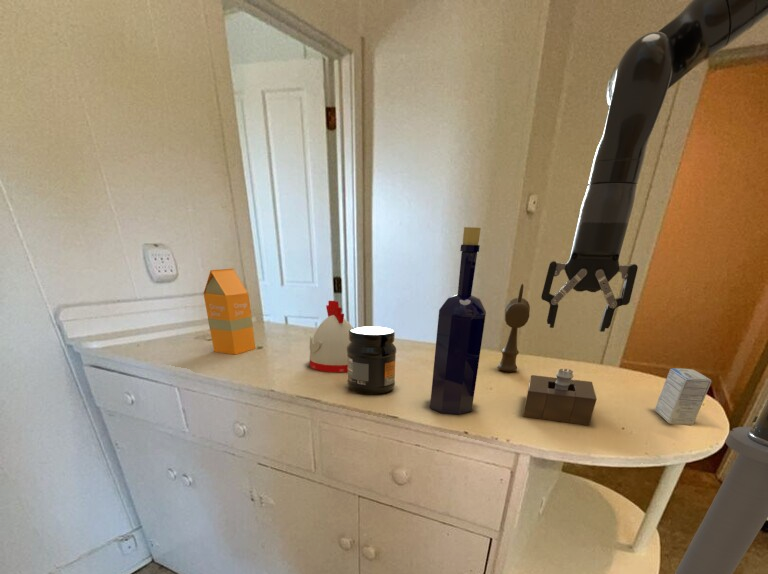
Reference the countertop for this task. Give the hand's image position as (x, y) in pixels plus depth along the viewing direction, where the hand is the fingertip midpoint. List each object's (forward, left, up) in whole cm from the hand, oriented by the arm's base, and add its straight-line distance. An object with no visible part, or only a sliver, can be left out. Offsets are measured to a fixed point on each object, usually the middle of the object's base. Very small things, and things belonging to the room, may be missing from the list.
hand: (576, 329), depth 77 cm
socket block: (0, 0, -15) cm, 15 cm away
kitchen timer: (+54, -14, -16) cm, 58 cm away
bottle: (+20, +6, -16) cm, 26 cm away
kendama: (+12, -28, -16) cm, 34 cm away
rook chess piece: (0, 0, -16) cm, 16 cm away
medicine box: (-22, -5, -16) cm, 27 cm away
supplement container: (+39, +1, -16) cm, 42 cm away
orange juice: (+87, -17, -16) cm, 90 cm away
